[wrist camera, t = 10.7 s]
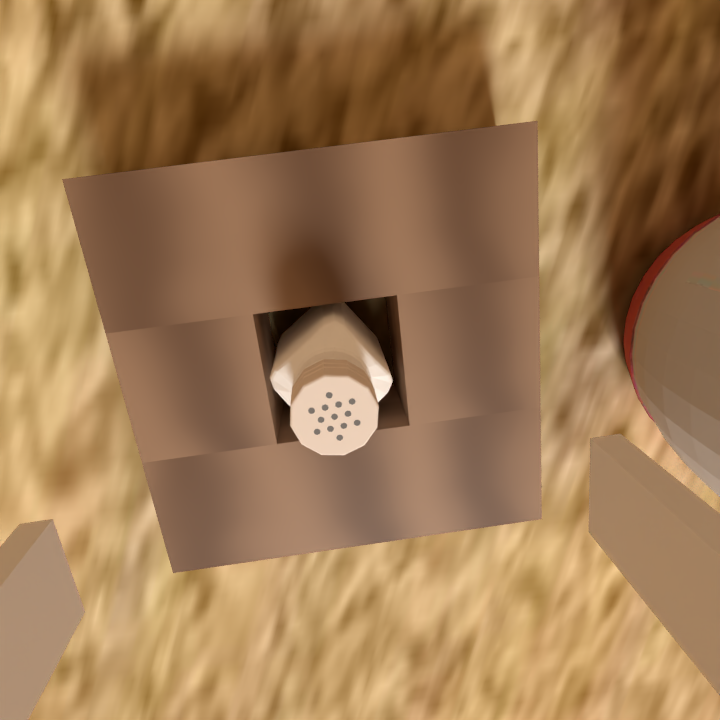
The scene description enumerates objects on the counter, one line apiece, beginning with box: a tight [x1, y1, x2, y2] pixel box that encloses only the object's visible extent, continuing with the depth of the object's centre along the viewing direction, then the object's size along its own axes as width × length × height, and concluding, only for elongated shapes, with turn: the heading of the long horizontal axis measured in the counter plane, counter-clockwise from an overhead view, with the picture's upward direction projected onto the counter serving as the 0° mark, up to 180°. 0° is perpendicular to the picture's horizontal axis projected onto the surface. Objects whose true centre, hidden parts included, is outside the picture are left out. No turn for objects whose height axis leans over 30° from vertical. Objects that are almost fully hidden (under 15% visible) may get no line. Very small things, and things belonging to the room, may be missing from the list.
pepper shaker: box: [270, 302, 393, 455], centre depth 24 cm, size 4×4×10 cm
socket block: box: [62, 121, 542, 573], centre depth 26 cm, size 18×18×5 cm
